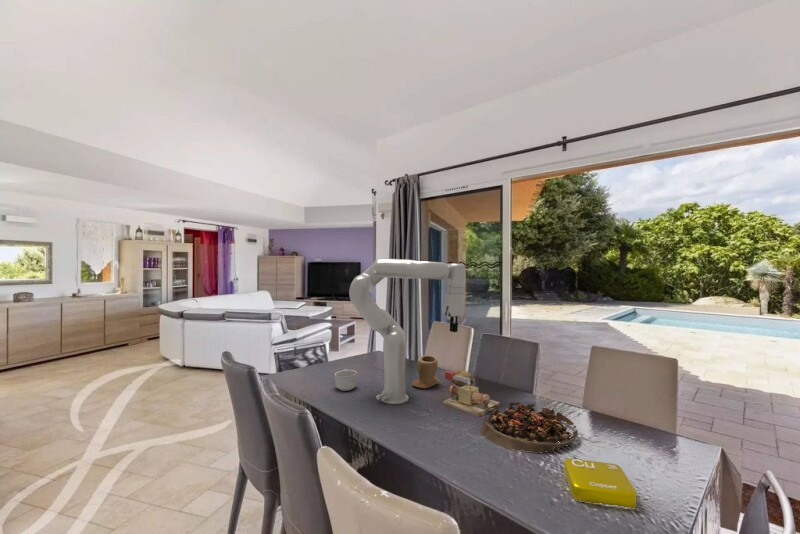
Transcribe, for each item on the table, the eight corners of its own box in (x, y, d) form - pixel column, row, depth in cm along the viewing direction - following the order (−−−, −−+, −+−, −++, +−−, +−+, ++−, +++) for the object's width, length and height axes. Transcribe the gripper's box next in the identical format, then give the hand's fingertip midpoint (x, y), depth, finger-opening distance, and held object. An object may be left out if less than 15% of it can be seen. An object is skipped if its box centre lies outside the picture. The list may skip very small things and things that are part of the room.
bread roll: (463, 393, 186) (469, 380, 183) (446, 381, 191) (452, 368, 189) (472, 388, 194) (478, 375, 191) (456, 376, 199) (462, 363, 197)
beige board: (478, 416, 149) (478, 412, 149) (443, 404, 161) (443, 401, 161) (499, 405, 160) (499, 402, 160) (464, 395, 173) (464, 392, 173)
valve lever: (471, 385, 159) (471, 377, 159) (468, 386, 158) (468, 378, 158) (448, 378, 169) (448, 370, 169) (444, 379, 167) (444, 372, 167)
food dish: (532, 410, 158) (533, 392, 158) (600, 448, 127) (601, 425, 127) (461, 420, 146) (461, 400, 146) (516, 464, 115) (517, 439, 115)
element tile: (573, 503, 96) (573, 484, 96) (562, 471, 110) (562, 455, 110) (638, 512, 92) (639, 493, 92) (618, 478, 107) (619, 462, 107)
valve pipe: (482, 410, 151) (483, 392, 151) (447, 399, 163) (447, 382, 163) (490, 406, 155) (490, 389, 155) (455, 395, 168) (455, 379, 168)
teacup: (355, 392, 175) (355, 376, 175) (332, 392, 176) (332, 375, 176) (359, 383, 189) (359, 367, 189) (337, 383, 190) (338, 367, 190)
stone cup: (427, 392, 176) (427, 360, 176) (408, 386, 185) (408, 356, 185) (446, 384, 187) (446, 355, 187) (428, 379, 196) (428, 351, 195)
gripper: (458, 290, 175) (456, 328, 175) (438, 290, 164) (436, 331, 164) (472, 291, 169) (470, 331, 170) (451, 292, 159) (449, 334, 159)
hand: (453, 331), depth 167 cm, fingers closed
